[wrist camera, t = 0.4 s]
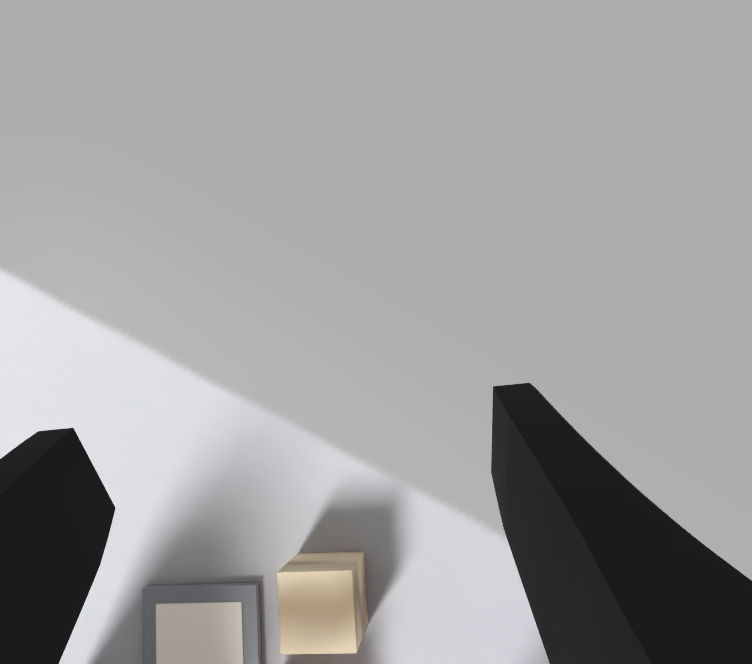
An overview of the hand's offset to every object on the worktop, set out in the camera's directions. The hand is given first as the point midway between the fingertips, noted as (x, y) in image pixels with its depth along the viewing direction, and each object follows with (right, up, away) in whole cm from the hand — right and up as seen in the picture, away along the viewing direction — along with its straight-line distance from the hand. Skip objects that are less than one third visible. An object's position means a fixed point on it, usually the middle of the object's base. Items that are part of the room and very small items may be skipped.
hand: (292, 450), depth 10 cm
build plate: (-10, -19, +27) cm, 35 cm away
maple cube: (-1, -15, +27) cm, 31 cm away
